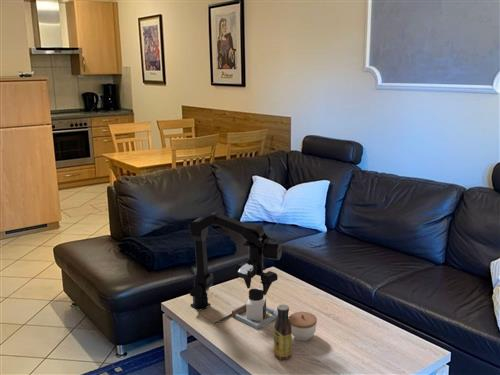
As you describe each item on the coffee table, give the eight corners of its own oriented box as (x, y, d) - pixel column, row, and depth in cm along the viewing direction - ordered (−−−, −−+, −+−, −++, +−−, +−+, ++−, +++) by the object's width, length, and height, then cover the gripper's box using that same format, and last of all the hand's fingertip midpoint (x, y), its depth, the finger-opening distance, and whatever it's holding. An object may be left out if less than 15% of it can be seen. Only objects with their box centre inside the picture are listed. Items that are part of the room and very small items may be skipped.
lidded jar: (319, 331, 192) (319, 309, 189) (313, 346, 182) (313, 323, 180) (292, 327, 195) (292, 305, 193) (285, 341, 186) (285, 319, 183)
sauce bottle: (273, 351, 179) (272, 302, 174) (289, 350, 180) (290, 301, 175) (275, 362, 173) (275, 311, 168) (292, 361, 173) (293, 310, 168)
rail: (214, 323, 199) (214, 322, 199) (253, 303, 215) (253, 302, 214) (215, 324, 199) (215, 322, 198) (254, 304, 214) (254, 302, 214)
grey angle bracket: (235, 318, 203) (235, 312, 202) (258, 306, 213) (258, 300, 212) (257, 329, 194) (257, 323, 194) (280, 315, 204) (280, 310, 203)
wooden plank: (232, 315, 204) (231, 310, 204) (255, 303, 214) (255, 299, 213) (233, 316, 204) (233, 311, 203) (256, 304, 213) (256, 299, 213)
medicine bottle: (263, 321, 200) (263, 294, 197) (246, 320, 201) (245, 293, 198) (266, 312, 207) (266, 286, 204) (249, 311, 208) (249, 285, 205)
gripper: (225, 256, 198) (226, 291, 202) (258, 268, 185) (259, 306, 189) (244, 248, 206) (245, 282, 210) (278, 259, 193) (278, 296, 197)
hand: (256, 291), depth 201 cm, fingers open, 9 cm apart
